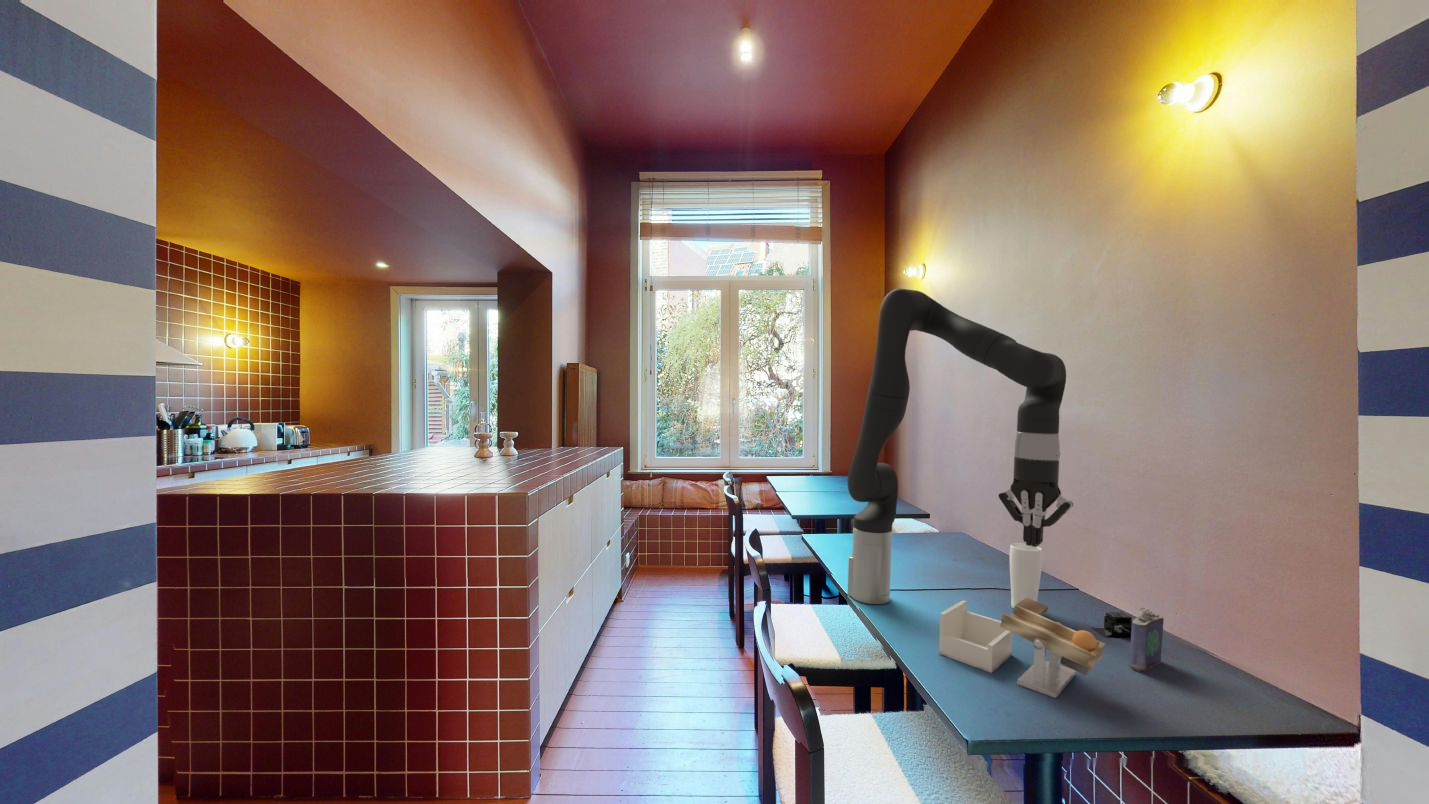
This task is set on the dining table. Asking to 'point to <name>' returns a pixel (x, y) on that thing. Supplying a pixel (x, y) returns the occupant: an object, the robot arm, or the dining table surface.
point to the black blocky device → (1115, 620)
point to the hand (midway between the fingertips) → (1032, 545)
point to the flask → (1146, 641)
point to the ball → (1084, 640)
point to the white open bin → (973, 638)
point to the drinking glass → (1024, 572)
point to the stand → (1046, 672)
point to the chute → (1050, 635)
